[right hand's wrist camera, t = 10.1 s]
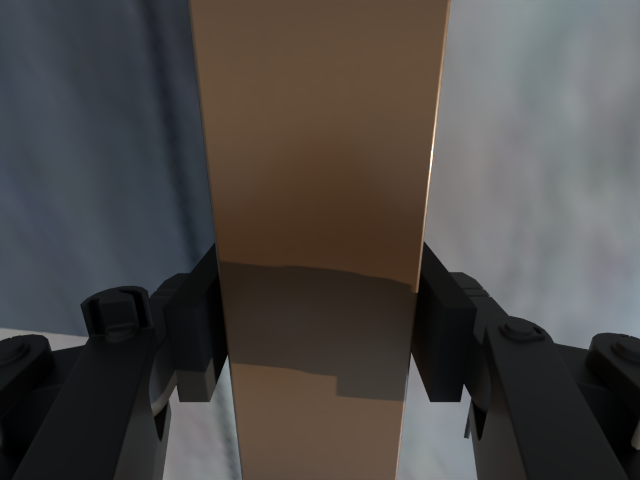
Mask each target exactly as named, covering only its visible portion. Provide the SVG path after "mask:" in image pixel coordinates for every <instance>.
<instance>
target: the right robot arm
mask: <svg viewBox="0 0 640 480" xmlns="http://www.w3.org/2000/svg"><path fill="white" fill-rule="evenodd" d="M81 309H82V312H83V316H84V319H85V323H86V327H87V330H88V334H89V339H88V341H87V342H86V344H85V345H83V346H78V347H72V348H67V349H62V350H56V351H52V350H51V347H50V344H49V341H48V339H47V338H46V337H44V336H43V335H34V334H31V335H23V336H21V335H20V336H14V337H12V338H7V339H4V340H1V341H0V480H162V479H163V472H164V464H165V457H166V450H167V443H168V435H169V428H170V421H171V408H170V403H169V398H170V396H171V394H172V392H173V390H174V388H175V386H176V385H177V390H178V396H179V401H180V402H210V400H211V397H212V395H213V392H214V389H215V387H216V384H217V381H218V379H219V376H220V374H221V371H222V368H223V366H224V363H225V360H226V358H227V355H228V351H227V342H226V334H225V325H224V316H223V307H222V298H221V290H220V281H219V272H218V263H217V255H216V246H215V243H214V244H213V246H212V247H211V248H210V249H209V251H208V252H207V253H206V254H205V256H204V257H203V258H202V259H201V261H200V262H199V263H198V264H197V266H196V267H195V268H194V269H193V271H192V272H191V273H178V274H176V275H174V276H173V277H171V278H169V279H167V280H165V281H164V282H163V283H162V284H161V286H160V287H159V288H158V289H157V291H155V292H154V293H153V294H152V295H151V296H150V298H149V296H148V291H147V290H145V289H144V288H142V287H137V286H121V287H116V288H111V289H107V290H105V291H102V292H99V293H96V294H94V295H93V296H91V297H89V298H87V299H86V300H85V301H84V302H83V303H82V304H81ZM411 352H412V355H413V358H414V360H415V363H416V366H417V368H418V371H419V374H420V376H421V379H422V381H423V384H424V387H425V389H426V392H427V395H428V397H429V400H430V402H460V401H461V396H462V390H463V385H464V384H465V386H466V388H467V390H468V392H469V394H470V396H471V403H470V408H469V413H468V418H467V423H466V428H465V434H464V438H468V439H469V436H470V431H471V434H472V442H473V449H474V456H475V464H476V471H477V478H478V480H640V339H639V338H636V337H633V336H630V337H629V335H625V334H615V333H600V334H597V335H595V336H594V337H593V338H592V341H591V344H590V347H589V350H587V349H582V348H576V347H571V346H566V345H560V344H556V343H554V342H553V340H552V338H551V336H550V335H549V334H548V333H547V332H546V331H545V330H544V329H543V328H541V327H539V326H538V325H536V324H535V323H532V322H530V321H527V320H525V319H521V318H517V317H513V316H509V315H508V314H507V313H506V312H505V311H504V310H503V309H502V308H501V307H500V306H499V305H498V304H497V302H496V301H495V300H494V299H493V298H492V297H490V295H489V294H488V293H487V292H486V291H485V290H483V287H482V286H481V285H480V284H479V283H478V282H477V281H476V280H475V279H473V278H472V277H470V276H468V275H466V274H464V273H463V272H448V271H447V269H446V268H445V267H444V266H443V264H442V263H441V262H440V261H439V259H438V258H437V257H436V256H435V254H434V253H433V252H432V251H431V249H430V248H429V247H428V246H427V244H426V243H425V242H424V243H423V251H422V260H421V269H420V278H419V287H418V296H417V305H416V314H415V323H414V332H413V341H412V350H411Z"/></svg>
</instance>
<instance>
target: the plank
mask: <svg viewBox="0 0 640 480" xmlns="http://www.w3.org/2000/svg"><path fill="white" fill-rule="evenodd" d="M450 2H451V0H188V8H189V17H190V26H191V35H192V44H193V52H194V61H195V70H196V79H197V88H198V96H199V105H200V114H201V123H202V131H203V140H204V149H205V158H206V167H207V175H208V184H209V193H210V202H211V211H212V219H213V228H214V237H215V246H216V255H217V263H218V272H219V281H220V290H221V298H222V307H223V316H224V325H225V334H226V342H227V351H228V360H229V369H230V378H231V386H232V395H233V404H234V413H235V421H236V430H237V439H238V448H239V457H240V465H241V474H242V480H397V474H398V465H399V457H400V448H401V439H402V430H403V421H404V412H405V403H406V394H407V385H408V376H409V367H410V358H411V350H412V341H413V332H414V323H415V314H416V305H417V296H418V287H419V278H420V269H421V260H422V251H423V243H424V234H425V225H426V216H427V207H428V198H429V189H430V180H431V171H432V162H433V153H434V144H435V135H436V127H437V118H438V109H439V100H440V91H441V82H442V73H443V64H444V55H445V46H446V37H447V28H448V20H449V11H450Z"/></svg>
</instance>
